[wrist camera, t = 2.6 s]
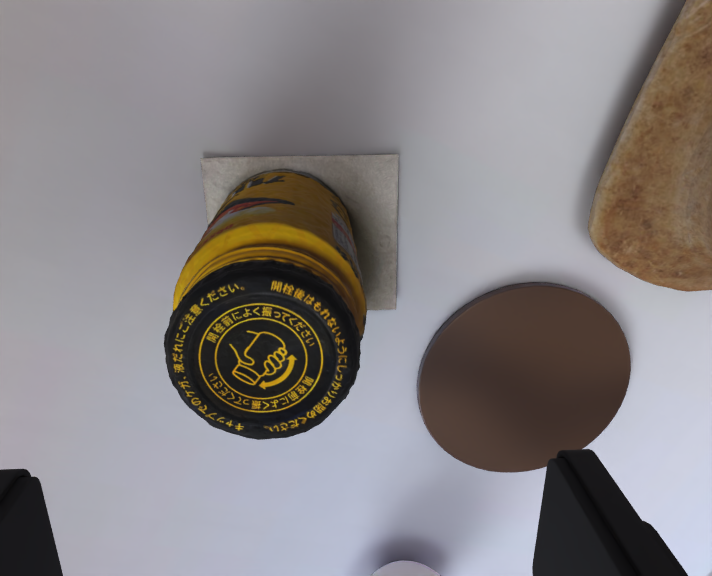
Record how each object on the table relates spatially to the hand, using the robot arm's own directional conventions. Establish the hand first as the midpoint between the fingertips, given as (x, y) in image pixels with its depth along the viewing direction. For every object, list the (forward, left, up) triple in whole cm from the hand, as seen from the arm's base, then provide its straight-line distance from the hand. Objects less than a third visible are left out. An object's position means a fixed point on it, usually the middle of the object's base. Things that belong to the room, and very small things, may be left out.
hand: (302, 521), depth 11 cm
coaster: (+8, +11, -17) cm, 22 cm away
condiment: (0, 0, -17) cm, 17 cm away
